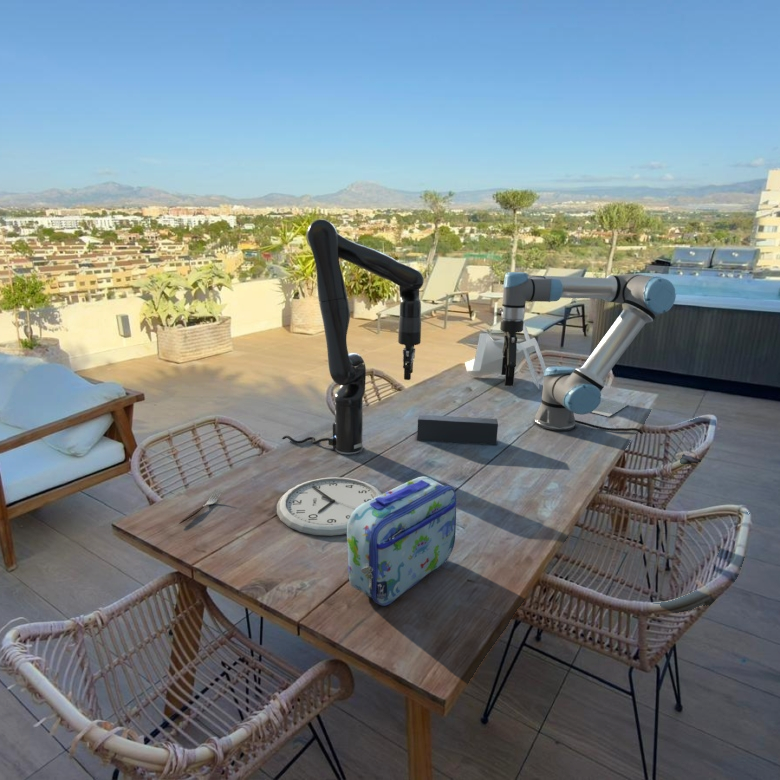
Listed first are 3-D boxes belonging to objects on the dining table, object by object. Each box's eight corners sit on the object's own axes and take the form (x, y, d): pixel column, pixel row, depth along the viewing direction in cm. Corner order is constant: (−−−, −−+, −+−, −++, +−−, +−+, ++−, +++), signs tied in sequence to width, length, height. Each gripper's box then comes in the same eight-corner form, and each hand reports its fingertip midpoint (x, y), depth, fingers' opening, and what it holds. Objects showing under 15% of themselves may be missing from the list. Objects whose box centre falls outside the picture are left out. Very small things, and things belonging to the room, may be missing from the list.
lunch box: (376, 619, 101) (377, 524, 95) (340, 592, 109) (339, 502, 102) (459, 562, 119) (465, 479, 113) (424, 542, 126) (427, 463, 120)
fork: (175, 524, 132) (174, 517, 132) (215, 495, 146) (215, 489, 146) (183, 526, 131) (182, 519, 131) (223, 497, 146) (222, 490, 145)
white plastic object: (486, 418, 267) (465, 395, 242) (467, 346, 289) (447, 318, 264) (556, 394, 255) (543, 367, 230) (531, 321, 277) (516, 289, 252)
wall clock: (392, 527, 129) (268, 531, 127) (391, 533, 130) (269, 537, 127) (383, 473, 158) (282, 475, 155) (383, 478, 158) (282, 480, 156)
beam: (495, 439, 189) (496, 418, 187) (496, 445, 184) (498, 423, 182) (418, 434, 192) (418, 414, 190) (417, 440, 188) (417, 419, 185)
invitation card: (608, 416, 214) (573, 407, 224) (608, 416, 214) (573, 408, 224) (628, 404, 229) (594, 396, 238) (628, 405, 229) (594, 397, 238)
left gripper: (400, 325, 182) (399, 370, 187) (396, 333, 168) (395, 381, 173) (422, 326, 181) (420, 371, 186) (419, 334, 167) (417, 382, 172)
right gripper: (498, 313, 188) (493, 370, 194) (504, 325, 164) (498, 390, 170) (519, 313, 187) (514, 371, 193) (528, 326, 163) (522, 391, 170)
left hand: (408, 376), depth 179 cm, fingers open, 8 cm apart
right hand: (507, 380), depth 182 cm, fingers open, 13 cm apart
